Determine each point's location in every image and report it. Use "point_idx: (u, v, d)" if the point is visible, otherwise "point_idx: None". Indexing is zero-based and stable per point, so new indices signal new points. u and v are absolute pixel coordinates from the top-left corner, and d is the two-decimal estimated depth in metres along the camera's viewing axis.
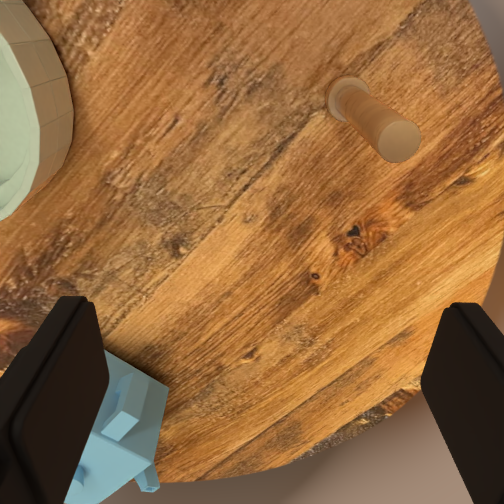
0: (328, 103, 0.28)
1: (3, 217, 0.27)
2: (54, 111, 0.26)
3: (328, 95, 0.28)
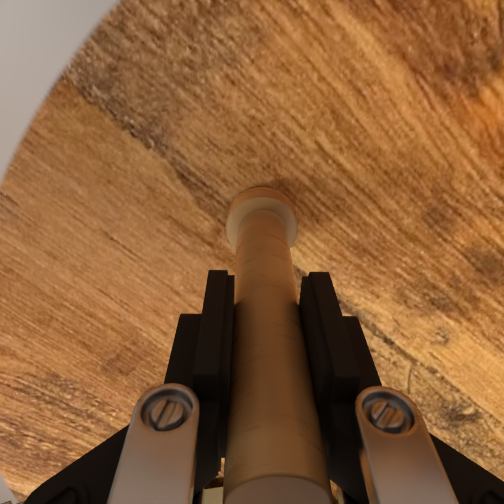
0: None
1: None
2: None
3: None
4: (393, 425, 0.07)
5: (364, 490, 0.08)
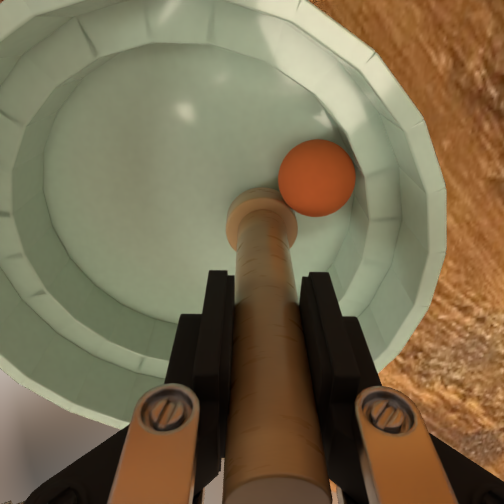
0: None
1: (427, 139, 0.11)
2: None
3: None
4: (393, 426, 0.07)
5: (364, 490, 0.08)
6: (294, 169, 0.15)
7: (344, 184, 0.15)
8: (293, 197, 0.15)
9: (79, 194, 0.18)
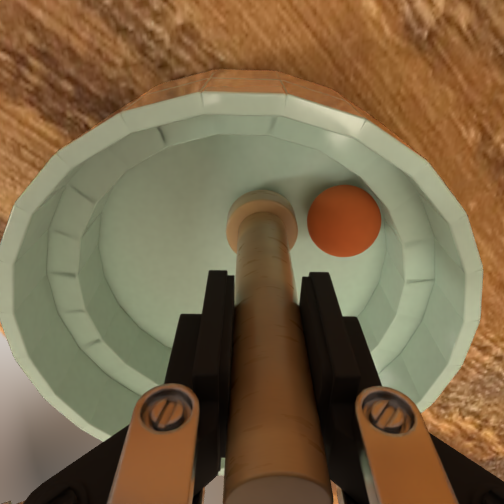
0: None
1: (468, 230, 0.13)
2: (265, 80, 0.12)
3: None
4: (393, 426, 0.07)
5: (364, 490, 0.08)
6: (343, 204, 0.15)
7: (366, 244, 0.16)
8: (323, 223, 0.16)
9: (131, 249, 0.19)
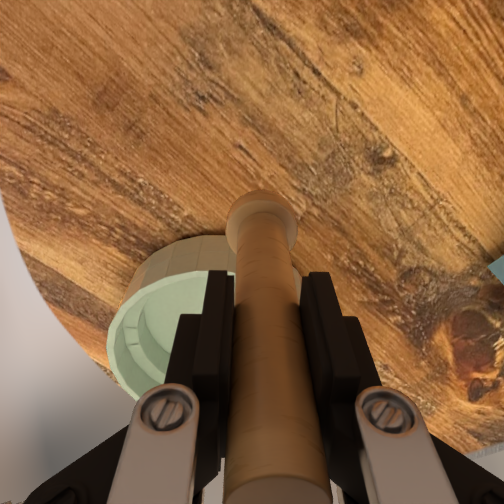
0: None
1: None
2: (222, 254, 0.30)
3: None
4: (394, 425, 0.07)
5: (364, 490, 0.08)
6: None
7: None
8: None
9: (160, 310, 0.37)
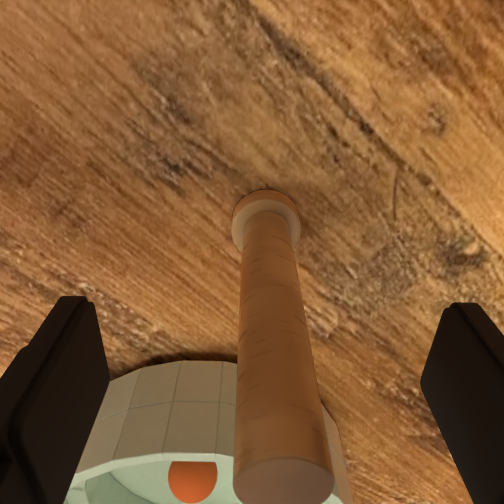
0: None
1: None
2: (208, 407, 0.19)
3: None
4: None
5: None
6: None
7: None
8: None
9: None
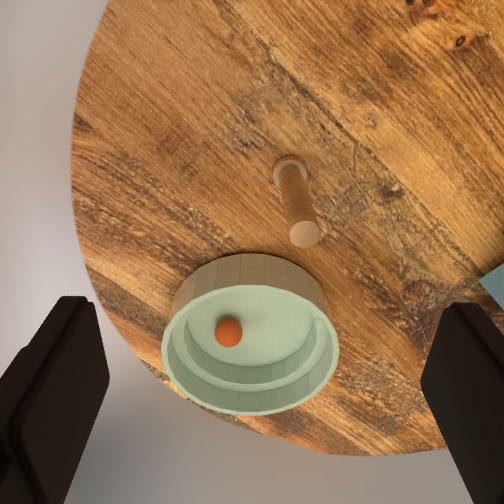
0: None
1: (328, 321, 0.37)
2: (259, 270, 0.37)
3: None
4: None
5: None
6: (231, 321, 0.42)
7: (242, 331, 0.43)
8: (232, 330, 0.41)
9: (201, 315, 0.43)
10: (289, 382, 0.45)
